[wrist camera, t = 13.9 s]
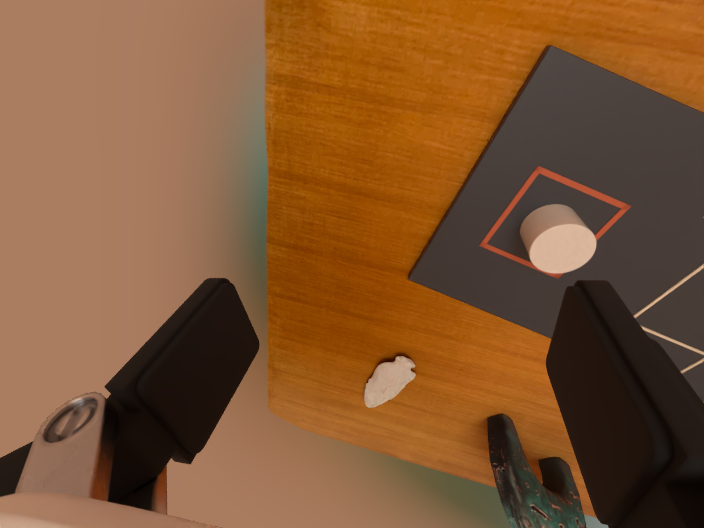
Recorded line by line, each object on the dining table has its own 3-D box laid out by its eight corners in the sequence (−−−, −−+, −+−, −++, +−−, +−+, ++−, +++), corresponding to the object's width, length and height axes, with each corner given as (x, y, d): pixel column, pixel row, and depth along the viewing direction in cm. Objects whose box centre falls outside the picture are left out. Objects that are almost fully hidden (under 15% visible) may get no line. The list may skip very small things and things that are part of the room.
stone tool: (389, 342, 46) (354, 397, 55) (388, 354, 44) (353, 408, 53) (425, 356, 47) (385, 407, 55) (426, 368, 45) (385, 419, 53)
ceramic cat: (581, 468, 53) (643, 652, 37) (543, 474, 57) (585, 645, 41) (509, 407, 48) (546, 590, 32) (472, 418, 52) (489, 588, 36)
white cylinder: (523, 205, 30) (534, 225, 26) (585, 202, 28) (604, 223, 25) (516, 250, 32) (525, 273, 29) (572, 249, 31) (588, 274, 28)
